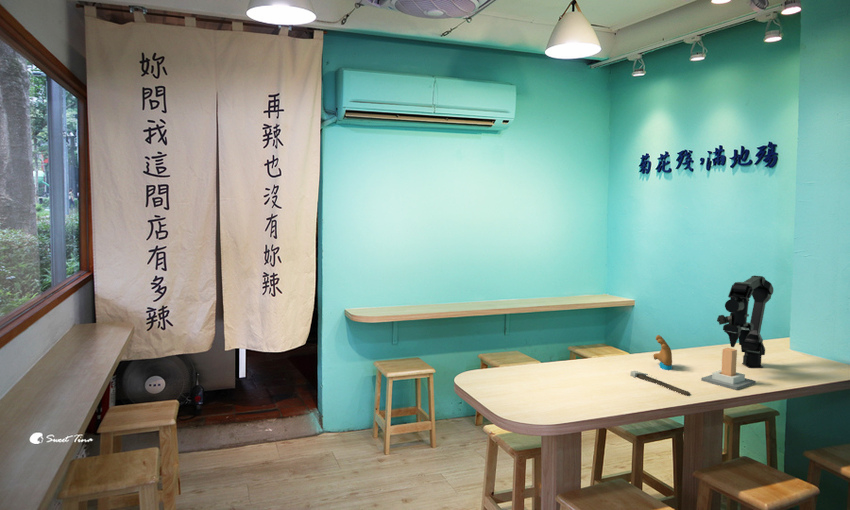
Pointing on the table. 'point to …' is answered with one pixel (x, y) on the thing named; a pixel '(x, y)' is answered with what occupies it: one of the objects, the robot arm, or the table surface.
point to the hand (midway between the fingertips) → (736, 346)
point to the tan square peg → (729, 361)
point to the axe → (658, 382)
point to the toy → (664, 354)
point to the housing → (728, 380)
